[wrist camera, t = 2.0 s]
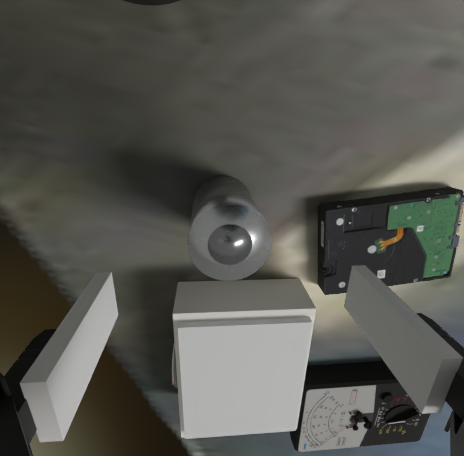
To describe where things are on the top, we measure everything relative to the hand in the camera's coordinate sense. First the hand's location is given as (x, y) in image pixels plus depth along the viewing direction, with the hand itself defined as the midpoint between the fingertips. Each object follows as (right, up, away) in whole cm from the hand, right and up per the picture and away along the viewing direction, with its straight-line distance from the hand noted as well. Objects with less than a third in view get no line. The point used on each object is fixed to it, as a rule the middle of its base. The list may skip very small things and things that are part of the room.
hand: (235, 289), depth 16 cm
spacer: (-1, +6, +13) cm, 15 cm away
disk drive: (+17, +2, +17) cm, 24 cm away
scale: (0, -11, +20) cm, 23 cm away
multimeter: (+18, -21, +27) cm, 38 cm away
